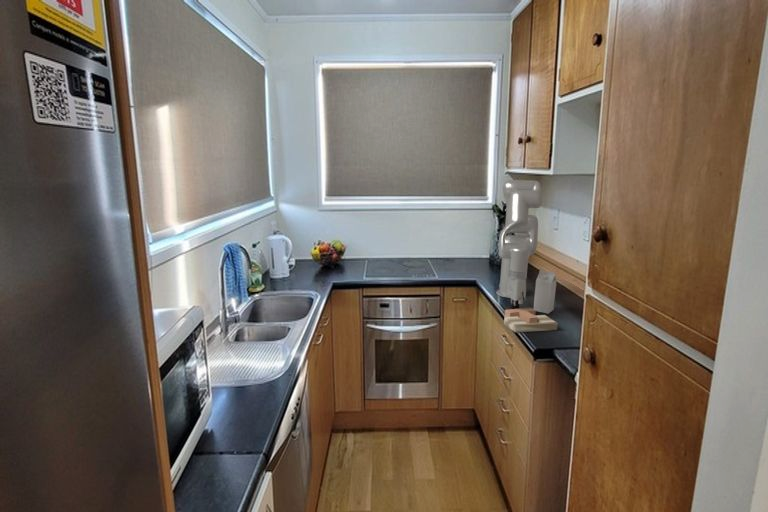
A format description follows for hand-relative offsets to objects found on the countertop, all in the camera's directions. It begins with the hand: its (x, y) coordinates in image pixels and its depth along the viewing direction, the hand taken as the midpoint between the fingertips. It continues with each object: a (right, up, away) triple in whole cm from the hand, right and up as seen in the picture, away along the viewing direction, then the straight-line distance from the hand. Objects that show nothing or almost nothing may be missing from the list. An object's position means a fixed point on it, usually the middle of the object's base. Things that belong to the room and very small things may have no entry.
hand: (514, 313), depth 199 cm
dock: (+3, -4, -13) cm, 14 cm away
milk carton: (+16, 0, +8) cm, 18 cm away
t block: (+2, -3, -7) cm, 8 cm away
